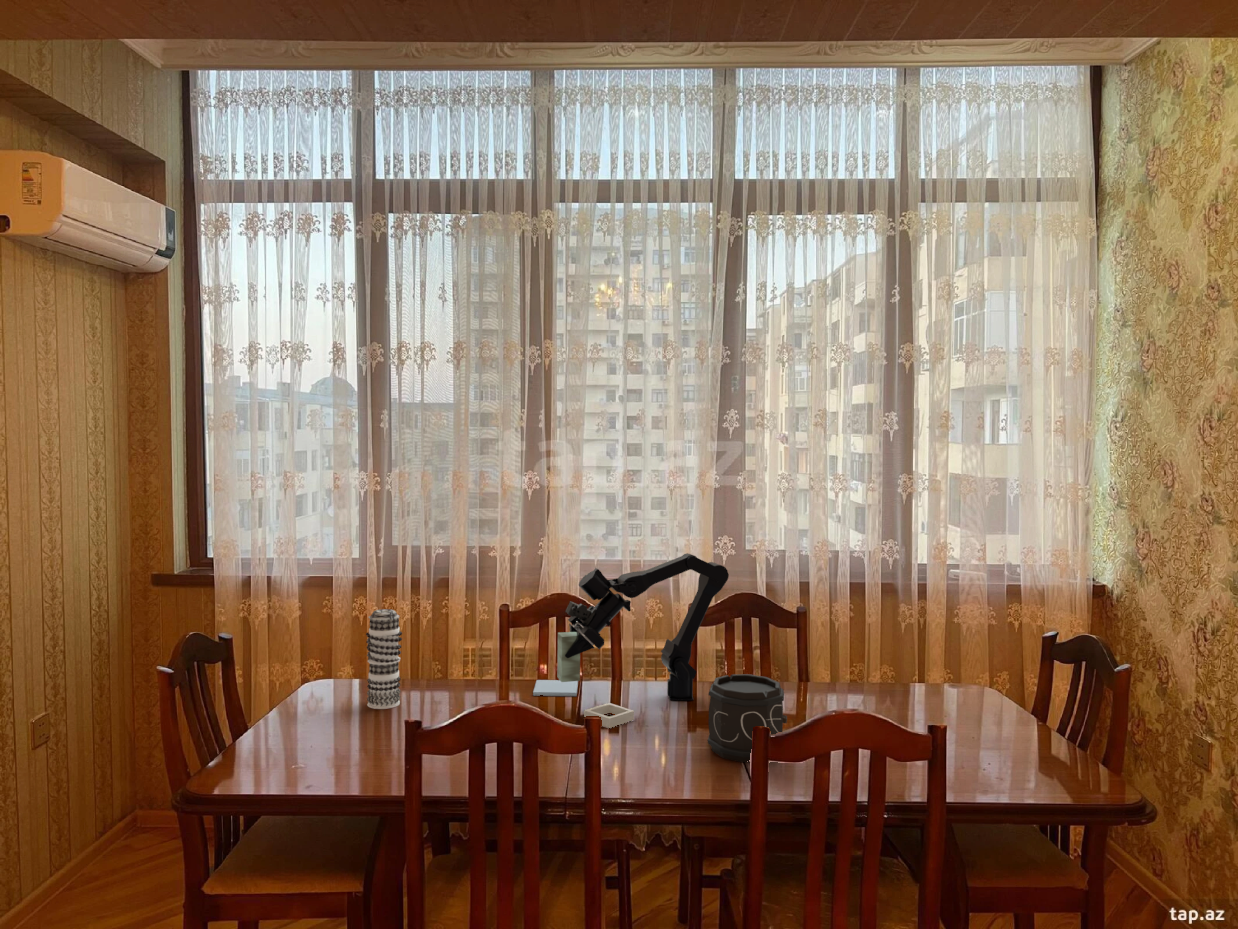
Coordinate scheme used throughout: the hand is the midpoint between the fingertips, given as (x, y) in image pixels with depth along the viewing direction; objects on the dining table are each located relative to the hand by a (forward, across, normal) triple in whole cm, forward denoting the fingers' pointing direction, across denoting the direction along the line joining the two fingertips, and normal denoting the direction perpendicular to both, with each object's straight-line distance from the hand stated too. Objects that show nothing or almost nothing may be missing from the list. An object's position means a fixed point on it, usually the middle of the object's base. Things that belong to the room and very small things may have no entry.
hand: (563, 654), depth 231 cm
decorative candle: (+42, -13, -22) cm, 50 cm away
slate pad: (+9, -15, +11) cm, 21 cm away
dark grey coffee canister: (-14, +42, +34) cm, 56 cm away
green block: (+4, 0, +6) cm, 7 cm away
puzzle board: (+4, +14, +16) cm, 22 cm away
